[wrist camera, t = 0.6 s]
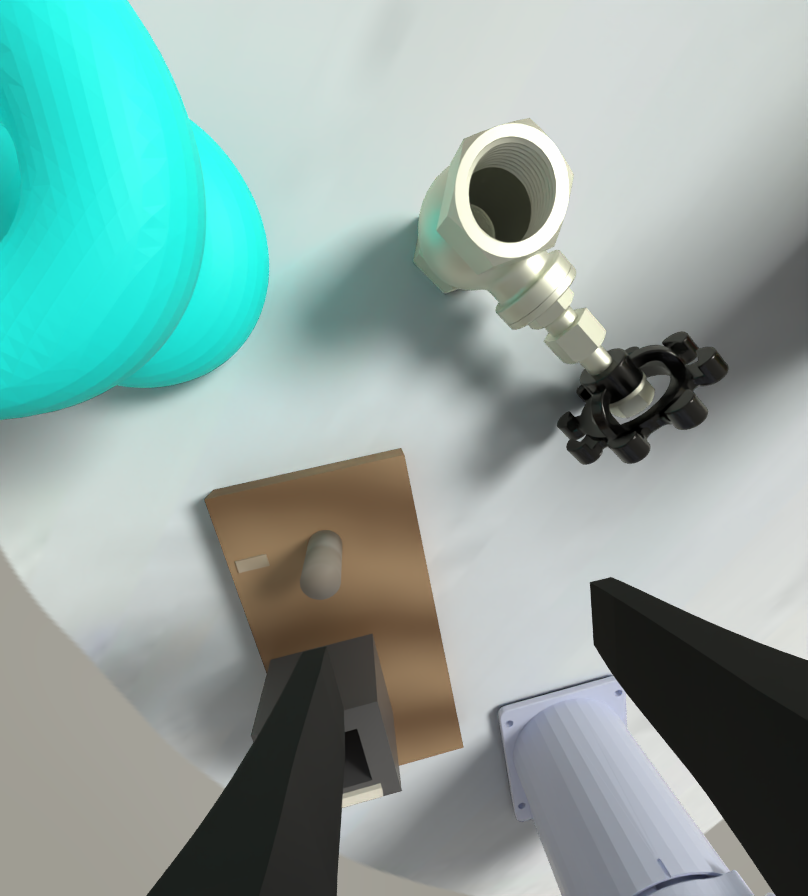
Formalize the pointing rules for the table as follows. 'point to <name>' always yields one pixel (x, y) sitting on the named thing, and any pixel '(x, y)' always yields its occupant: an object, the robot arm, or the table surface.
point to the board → (344, 581)
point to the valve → (551, 287)
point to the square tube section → (351, 716)
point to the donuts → (112, 215)
